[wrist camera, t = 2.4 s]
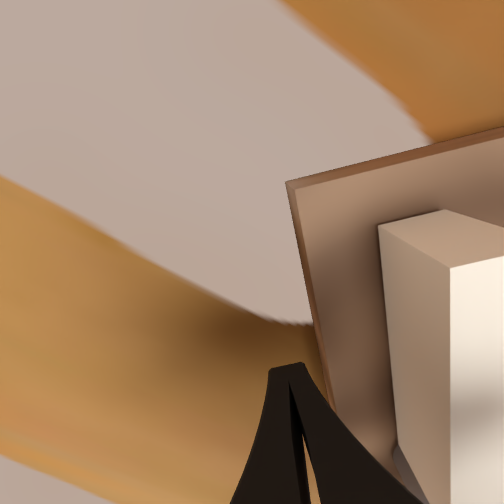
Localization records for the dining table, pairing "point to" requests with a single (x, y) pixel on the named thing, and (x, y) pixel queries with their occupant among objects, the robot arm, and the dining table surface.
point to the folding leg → (447, 354)
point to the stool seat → (379, 262)
